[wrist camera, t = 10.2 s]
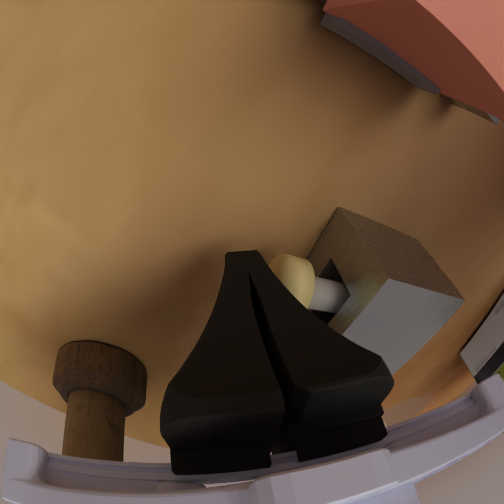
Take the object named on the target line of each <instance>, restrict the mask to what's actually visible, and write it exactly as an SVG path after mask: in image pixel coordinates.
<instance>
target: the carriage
mask: <svg viewBox="0 0 504 504" xmlns="http://www.w3.org/2000/svg"><path fill="white" fill-rule="evenodd" d="M322 10H323V11H324V12H326V13H325V15H324V17H323V19H322V21H321V22H320V24H319V25H321V26H323V27H325V28H327V29H329V30H331V31H332V32H334V33H336V34H338V35H339V36H341V37H343V38H345V39H346V40H348V41H350V42H351V43H353V44H355V45H356V46H358V47H359V48H361V49H363V50H364V51H366V52H367V53H369V54H370V55H372V56H373V57H375V58H376V59H378V60H379V61H381V62H382V63H384V64H385V65H387V66H388V67H390V68H391V69H392V70H394V71H395V72H397V73H398V74H399V75H401V76H402V77H403V78H405V79H406V80H407V81H409V82H410V83H411V84H413V85H414V86H415V87H418V88H421V89H424V90H426V91H429V92H432V93H435V94H437V95H438V94H439V92H440V93H441V94H443V95H446V96H448V97H451V98H454V99H456V100H459V101H461V102H463V103H466V104H468V105H470V106H473V107H475V108H477V109H480V110H482V111H484V112H486V113H488V114H490V115H492V116H495V117H497V118H499V119H501V120H503V121H504V0H327V2H326V4H325V6H324V8H323V9H322Z"/></svg>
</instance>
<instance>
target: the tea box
mask: <svg viewBox="0 0 504 504" xmlns="http://www.w3.org/2000/svg"><path fill="white" fill-rule="evenodd" d="M460 356H461V357H462V359H463V361H464V362H465V364H466V366H467V367H468V369H469V371H470V372H471V374H472V376H473V377H474V378H475V380H476V382H477V384H479V383H480V382H482V381H483V380H485V379H487V378H489V377H491V376H493V375H495V374H497V373H498V374H499V375H500V377H501V378H502V380H503V382H504V293H503V294H502V296H501V297H500V299H499V301H498V302H497V304H496V305H495V307H494V308H493V310H492V311H491V313H490V314H489V316H488V317H487V318H486V320H485V321H484V323H483V324H482V325H481V327H480V328H479V330H478V331H477V332H476V334H475V335H474V336H473V338H472V339H471V340H470V341H469V343H468V344H467V345H466V346H465V348H464V349H463V350H462V351H461V353H460Z"/></svg>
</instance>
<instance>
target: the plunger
mask: <svg viewBox="0 0 504 504" xmlns="http://www.w3.org/2000/svg"><path fill="white" fill-rule="evenodd" d="M269 267H270V269H271V270H272V271H273V273H274V274H275V275H276V276H277V277H278V279H279V280H280V281H281V282H282V283H283V285H284V286H285V287H286V288H287V289H288V290H289V291H290V292H291V293H292V294H293V295H294V297H295V298H296V299H297V300H298V301H299V302H300V303H301V304H303V305H304V306H305V307H306V308H307V309H314V310H319V311H325V312H331V313H337V312H338V311H339V310H340V308H341V307H342V306H343V305H344V303H345V302H346V301H347V299H348V298H349V297H350V296H351V295H350V293H349V291H348V289H347V287H346V285H345V283H341V282H337V281H333V280H328V279H324V278H320V277H316V276H315V275H314V269H313V267H312V265H311V263H310V262H309V261H308V260H307V259H304V258H300V257H296V256H292V255H289V254H285V253H280V254H278V255H276V256H275V257H274V258H273V260H272V261H271V262H270V264H269Z"/></svg>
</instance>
